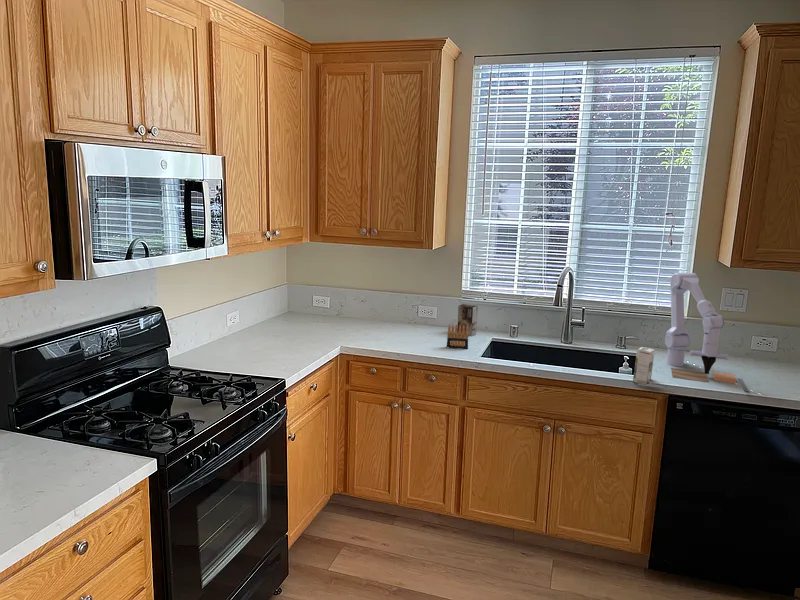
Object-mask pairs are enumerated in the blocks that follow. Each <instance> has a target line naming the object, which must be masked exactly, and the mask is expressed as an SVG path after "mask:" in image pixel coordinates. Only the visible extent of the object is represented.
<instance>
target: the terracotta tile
mask: <svg viewBox="0 0 800 600" xmlns="http://www.w3.org/2000/svg"><path fill="white" fill-rule="evenodd" d="M711 376H712V378H713V381H715V382H722V383H731V384H736V382H737V378H736V376H735V374H734V373H733V374H732V373H725V372H720V371H712V375H711Z"/></svg>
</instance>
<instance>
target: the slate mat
mask: <svg viewBox="0 0 800 600" xmlns="http://www.w3.org/2000/svg"><path fill="white" fill-rule="evenodd" d="M736 380H737V381H738V382H739V384H740V387H741V389H742V390H743V392H745V393H750V390H749V388H748V387H747V385H746V384H745V381H744V379H743V378H740V377H738V378H736Z"/></svg>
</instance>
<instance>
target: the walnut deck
mask: <svg viewBox="0 0 800 600" xmlns="http://www.w3.org/2000/svg"><path fill="white" fill-rule="evenodd" d="M670 371H671V376H672V379H680V380H687V381H694V382H702V383H709V384H710V381H709V377H708V374H705V373H704V372H705V371H698V370H691V369H683V368H677V367H670Z"/></svg>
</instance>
